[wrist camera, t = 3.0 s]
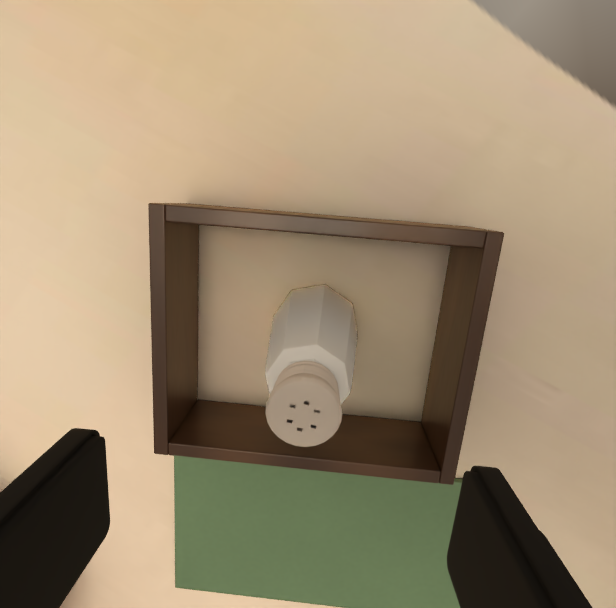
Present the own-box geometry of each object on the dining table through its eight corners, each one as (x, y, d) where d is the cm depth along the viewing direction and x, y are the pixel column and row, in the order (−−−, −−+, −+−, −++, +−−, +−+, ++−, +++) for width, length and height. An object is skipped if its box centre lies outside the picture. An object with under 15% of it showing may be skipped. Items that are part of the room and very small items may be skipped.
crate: (467, 226, 23) (505, 232, 18) (431, 433, 26) (453, 485, 21) (186, 203, 23) (147, 203, 18) (186, 408, 27) (153, 454, 22)
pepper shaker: (282, 274, 24) (241, 329, 13) (368, 293, 24) (397, 364, 13) (265, 354, 25) (217, 463, 15) (347, 373, 25) (358, 495, 15)
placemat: (493, 482, 27) (495, 486, 26) (461, 616, 30) (463, 622, 29) (176, 448, 27) (174, 452, 27) (177, 583, 30) (175, 587, 30)
